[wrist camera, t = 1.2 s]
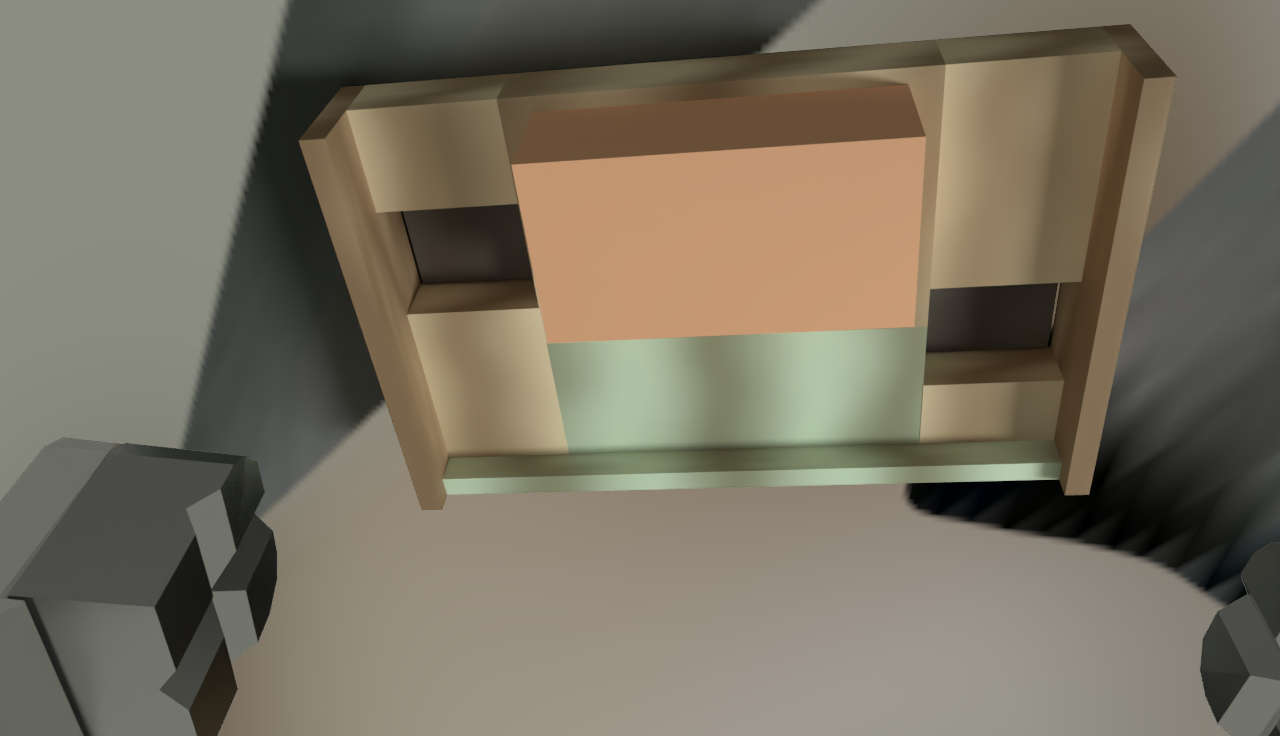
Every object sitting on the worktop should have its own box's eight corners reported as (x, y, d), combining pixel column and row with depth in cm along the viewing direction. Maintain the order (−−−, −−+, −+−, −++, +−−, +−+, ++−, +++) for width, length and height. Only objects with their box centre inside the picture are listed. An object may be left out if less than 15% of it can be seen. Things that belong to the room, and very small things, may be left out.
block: (908, 84, 29) (925, 136, 26) (900, 264, 33) (914, 326, 30) (532, 112, 31) (511, 164, 28) (563, 281, 34) (547, 343, 31)
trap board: (1130, 24, 30) (1176, 76, 26) (1060, 420, 39) (1088, 494, 35) (341, 87, 33) (298, 140, 30) (446, 439, 42) (421, 510, 38)
